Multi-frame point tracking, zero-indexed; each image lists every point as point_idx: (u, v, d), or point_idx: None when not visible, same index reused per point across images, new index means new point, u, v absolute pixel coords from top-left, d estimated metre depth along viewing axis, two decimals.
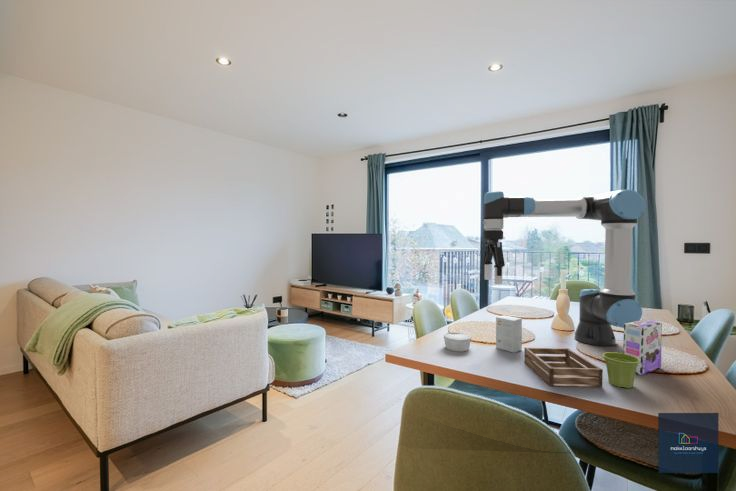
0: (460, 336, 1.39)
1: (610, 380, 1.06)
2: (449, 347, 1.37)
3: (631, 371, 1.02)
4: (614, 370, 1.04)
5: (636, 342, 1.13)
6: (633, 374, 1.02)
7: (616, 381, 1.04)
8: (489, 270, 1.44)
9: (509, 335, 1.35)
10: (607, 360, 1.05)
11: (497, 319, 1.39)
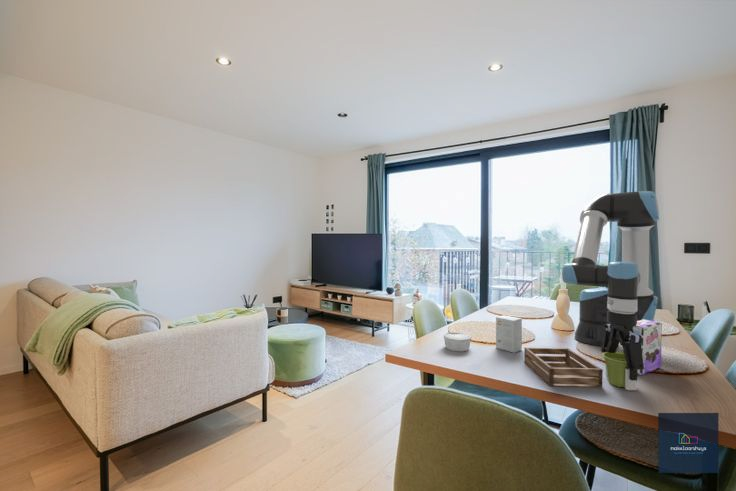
0: (460, 336, 1.39)
1: (610, 380, 1.06)
2: (449, 347, 1.37)
3: None
4: (614, 369, 1.04)
5: None
6: None
7: (616, 381, 1.04)
8: None
9: (509, 335, 1.35)
10: (607, 360, 1.05)
11: (497, 319, 1.39)
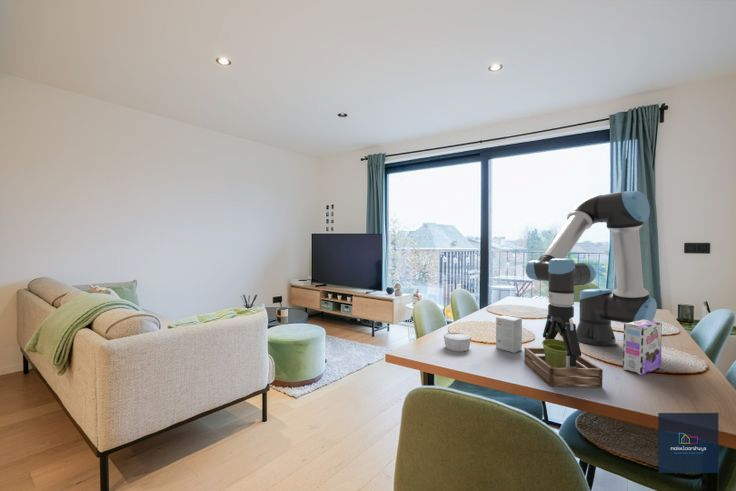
0: (460, 336, 1.39)
1: None
2: (449, 347, 1.37)
3: (564, 358, 1.12)
4: (550, 356, 1.14)
5: (636, 342, 1.13)
6: None
7: None
8: None
9: (509, 335, 1.35)
10: (544, 347, 1.15)
11: (497, 319, 1.39)
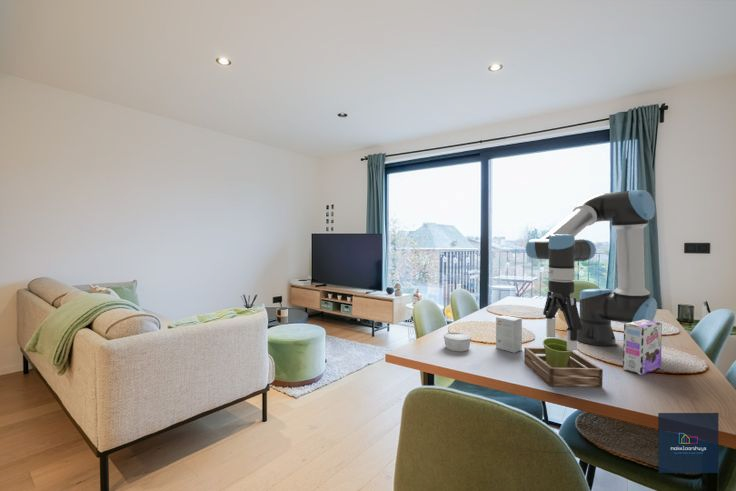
0: (460, 336, 1.39)
1: None
2: (449, 347, 1.37)
3: (565, 358, 1.12)
4: (551, 357, 1.14)
5: (636, 342, 1.13)
6: (567, 360, 1.13)
7: (552, 366, 1.15)
8: (552, 326, 1.20)
9: (509, 335, 1.35)
10: (545, 348, 1.15)
11: (497, 319, 1.39)
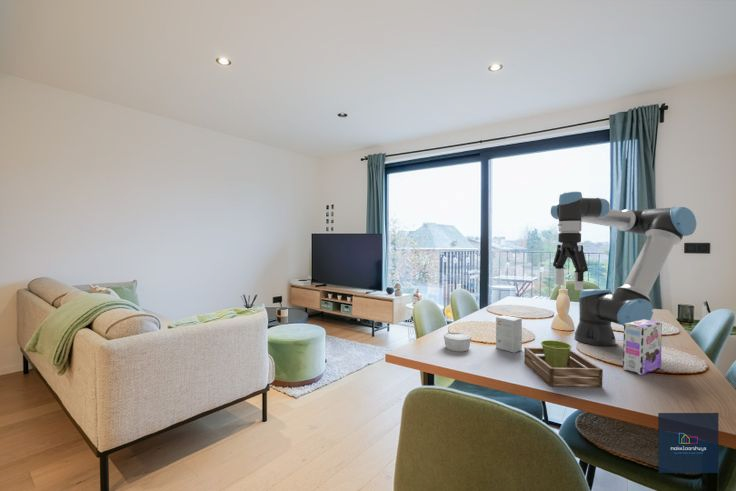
0: (460, 336, 1.39)
1: None
2: (449, 347, 1.37)
3: (563, 356, 1.13)
4: (549, 355, 1.15)
5: (636, 342, 1.13)
6: (565, 359, 1.14)
7: (551, 365, 1.15)
8: (561, 275, 1.36)
9: (509, 335, 1.35)
10: (543, 347, 1.17)
11: (497, 319, 1.39)
